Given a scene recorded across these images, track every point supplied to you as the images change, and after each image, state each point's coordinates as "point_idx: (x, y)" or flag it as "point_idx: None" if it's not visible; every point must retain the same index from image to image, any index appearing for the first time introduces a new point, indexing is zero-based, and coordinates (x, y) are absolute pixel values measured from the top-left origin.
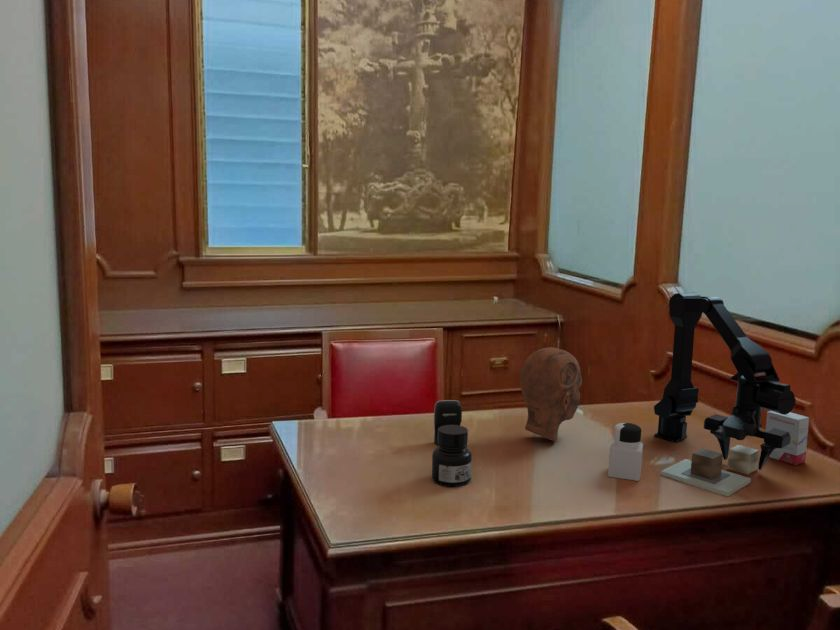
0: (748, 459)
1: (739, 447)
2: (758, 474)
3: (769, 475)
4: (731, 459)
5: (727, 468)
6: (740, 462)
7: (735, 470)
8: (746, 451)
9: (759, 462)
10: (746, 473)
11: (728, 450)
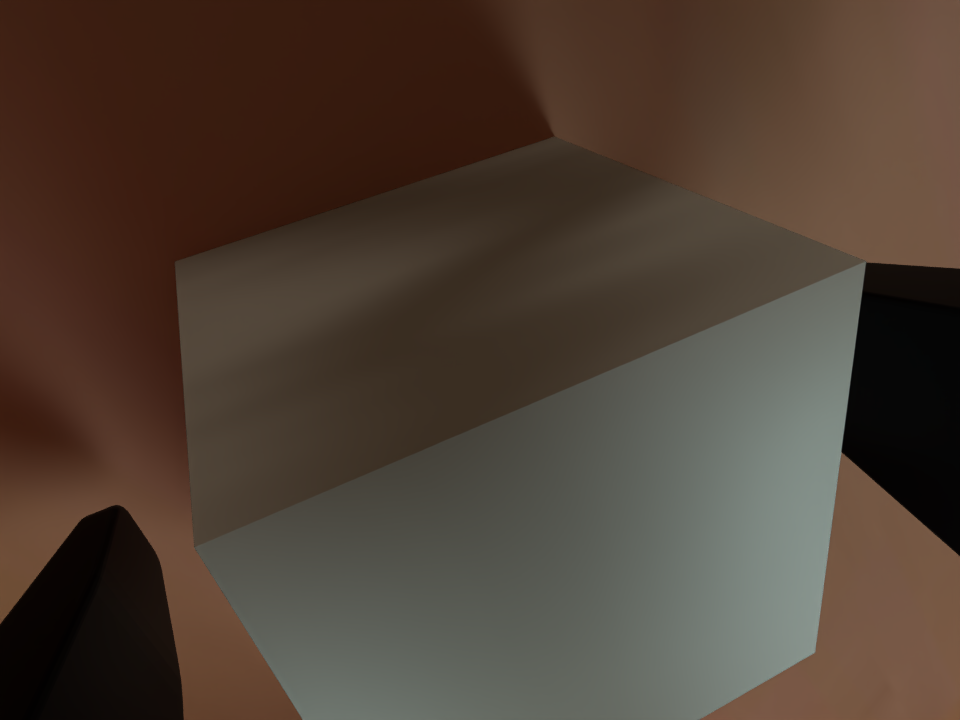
0: (226, 421)
1: (740, 592)
2: (118, 448)
3: (15, 588)
4: (607, 204)
5: (554, 137)
6: (401, 277)
7: (420, 185)
8: (497, 606)
9: (69, 618)
10: (210, 256)
11: None
